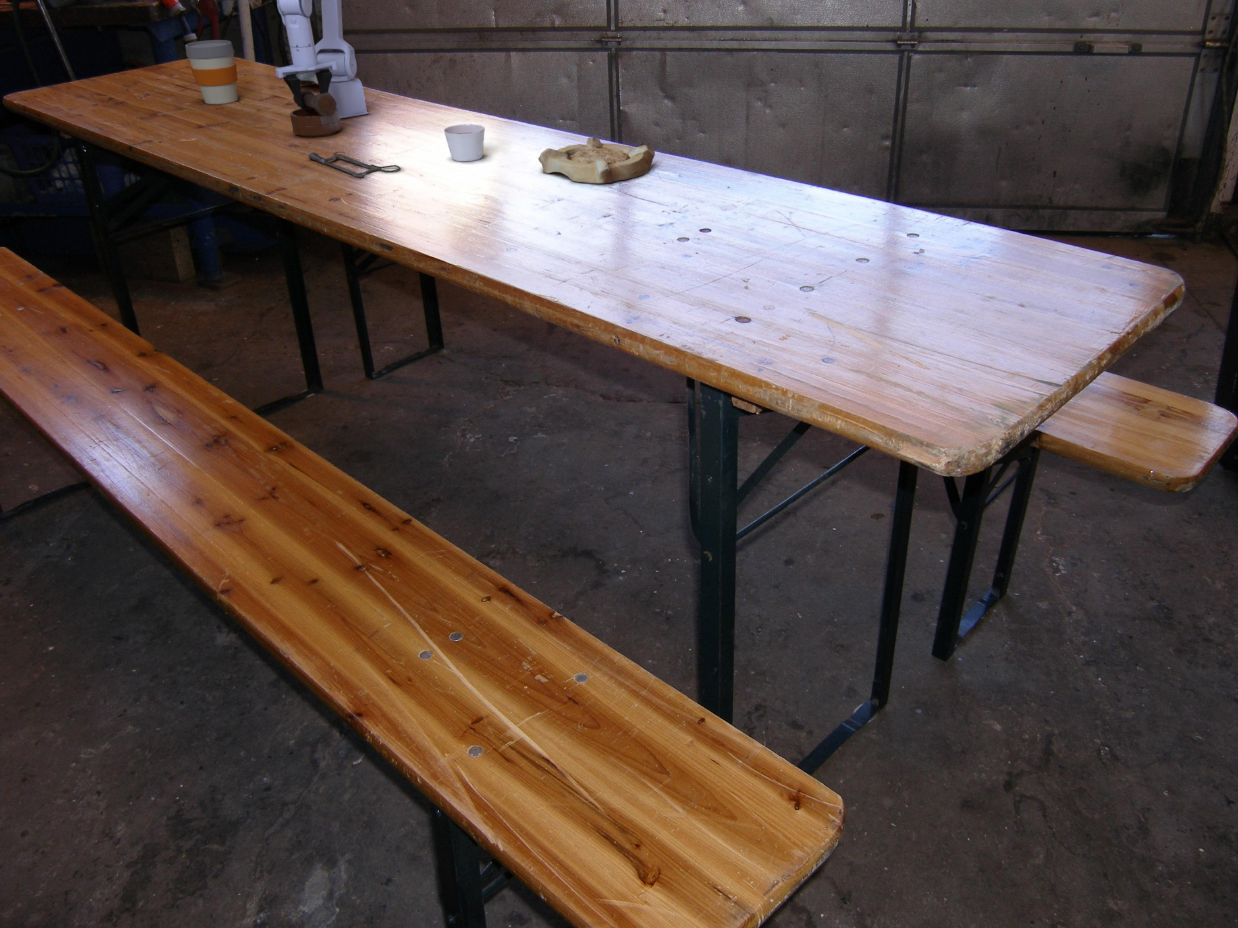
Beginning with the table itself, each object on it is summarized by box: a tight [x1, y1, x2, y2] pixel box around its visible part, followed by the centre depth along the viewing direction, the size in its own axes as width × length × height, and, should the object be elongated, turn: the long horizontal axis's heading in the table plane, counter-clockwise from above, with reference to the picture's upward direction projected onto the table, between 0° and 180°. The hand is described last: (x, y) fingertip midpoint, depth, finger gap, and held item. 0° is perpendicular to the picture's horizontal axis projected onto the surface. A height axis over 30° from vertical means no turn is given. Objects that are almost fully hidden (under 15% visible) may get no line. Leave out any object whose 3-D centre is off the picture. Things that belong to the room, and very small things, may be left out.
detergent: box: [295, 71, 356, 87], centre depth 282 cm, size 13×7×25 cm
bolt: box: [292, 89, 337, 117], centre depth 237 cm, size 6×5×15 cm
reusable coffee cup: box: [185, 39, 239, 105], centre depth 270 cm, size 13×13×15 cm
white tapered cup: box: [443, 123, 486, 162], centre depth 217 cm, size 9×9×6 cm
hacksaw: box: [308, 151, 401, 178], centre depth 215 cm, size 24×10×2 cm, turn 44°
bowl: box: [289, 107, 342, 138], centre depth 240 cm, size 12×12×5 cm
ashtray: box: [537, 136, 656, 184], centre depth 207 cm, size 24×24×5 cm
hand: (312, 105), depth 238 cm, fingers open, 6 cm apart
